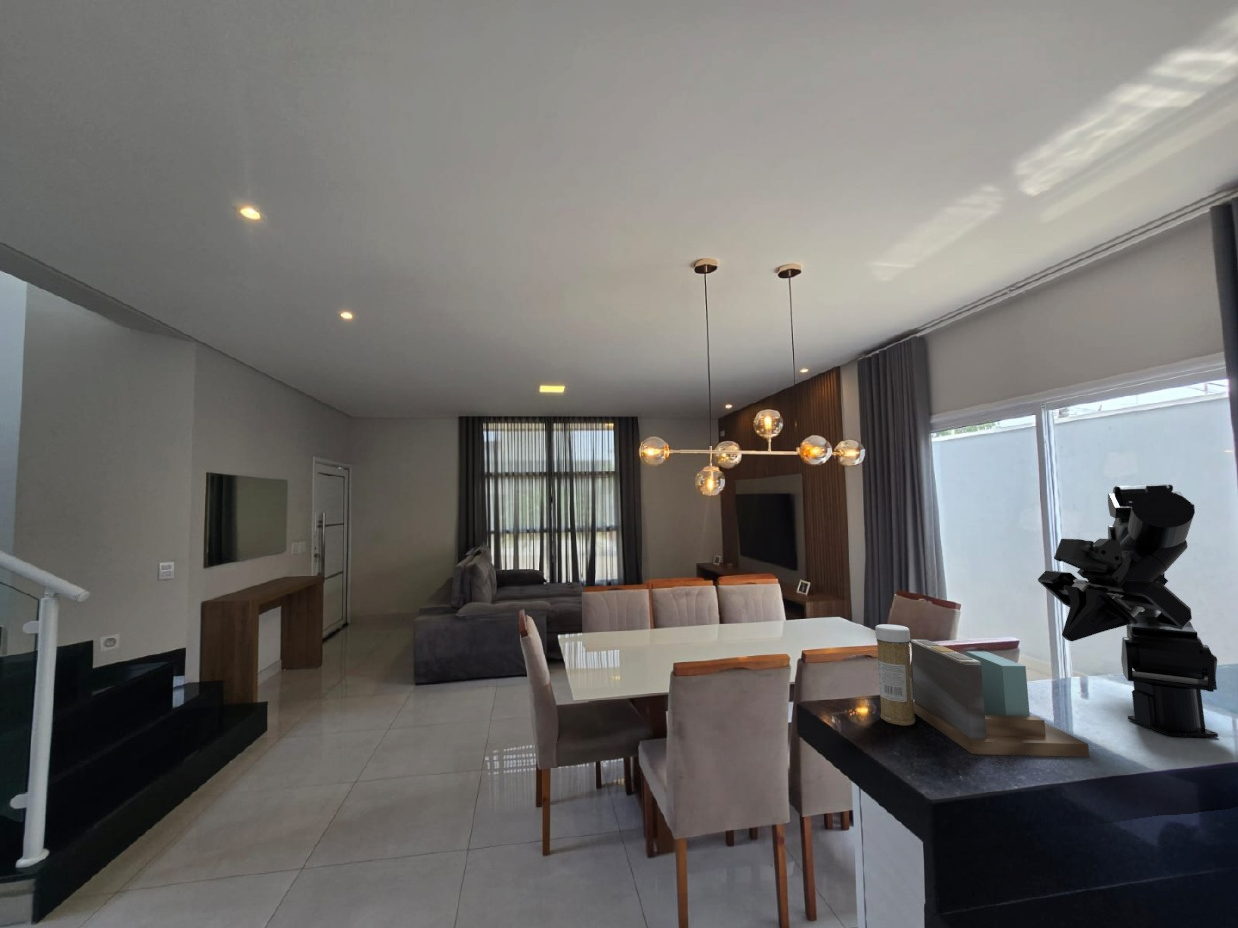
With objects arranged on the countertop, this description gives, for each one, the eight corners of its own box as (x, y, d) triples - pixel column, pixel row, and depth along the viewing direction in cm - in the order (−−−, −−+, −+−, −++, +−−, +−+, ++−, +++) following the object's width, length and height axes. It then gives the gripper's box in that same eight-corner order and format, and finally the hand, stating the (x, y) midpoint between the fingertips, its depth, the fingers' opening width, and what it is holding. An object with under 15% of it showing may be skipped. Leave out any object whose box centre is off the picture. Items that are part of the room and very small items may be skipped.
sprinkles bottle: (921, 722, 76) (915, 626, 77) (904, 728, 73) (898, 630, 75) (890, 712, 80) (885, 622, 81) (873, 718, 77) (868, 625, 79)
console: (1002, 710, 80) (996, 637, 82) (1089, 756, 65) (1080, 665, 66) (908, 709, 81) (904, 636, 82) (972, 753, 65) (965, 663, 67)
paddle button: (991, 707, 77) (986, 651, 78) (1030, 728, 69) (1025, 666, 70) (970, 707, 77) (966, 651, 78) (1007, 728, 69) (1002, 665, 70)
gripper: (1044, 519, 85) (979, 588, 84) (1156, 518, 66) (1073, 607, 65) (1100, 569, 83) (1035, 640, 83) (1230, 582, 65) (1147, 673, 64)
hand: (1066, 638), depth 74 cm, fingers closed
